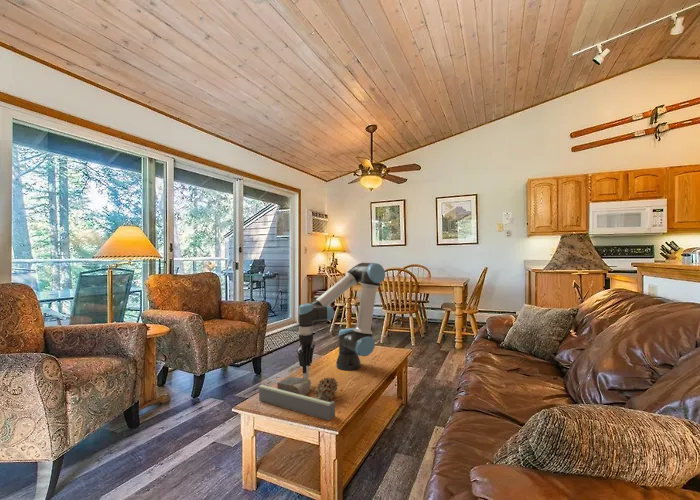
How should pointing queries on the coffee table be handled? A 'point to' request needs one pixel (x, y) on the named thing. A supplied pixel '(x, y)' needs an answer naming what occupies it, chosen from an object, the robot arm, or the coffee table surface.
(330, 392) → the pine cone
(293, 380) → the geological specimen
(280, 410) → the coffee table surface
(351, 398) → the coffee table surface
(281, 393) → the end rail
